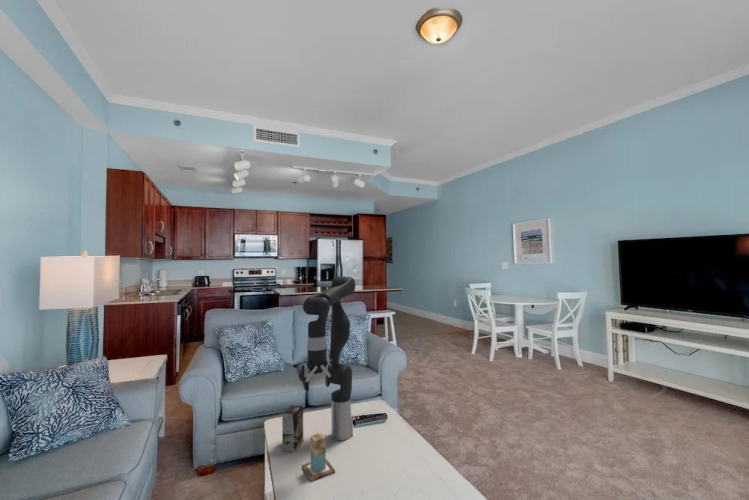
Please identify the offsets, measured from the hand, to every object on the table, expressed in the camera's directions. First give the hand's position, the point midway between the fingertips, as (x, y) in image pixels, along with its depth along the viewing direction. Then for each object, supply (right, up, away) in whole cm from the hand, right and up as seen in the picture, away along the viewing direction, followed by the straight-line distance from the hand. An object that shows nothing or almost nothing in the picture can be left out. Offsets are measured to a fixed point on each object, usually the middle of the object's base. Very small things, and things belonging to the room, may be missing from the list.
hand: (317, 388), depth 133 cm
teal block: (0, -31, -1) cm, 31 cm away
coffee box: (-14, -33, +17) cm, 40 cm away
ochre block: (0, -25, -1) cm, 25 cm away
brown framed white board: (+1, -32, -1) cm, 32 cm away
